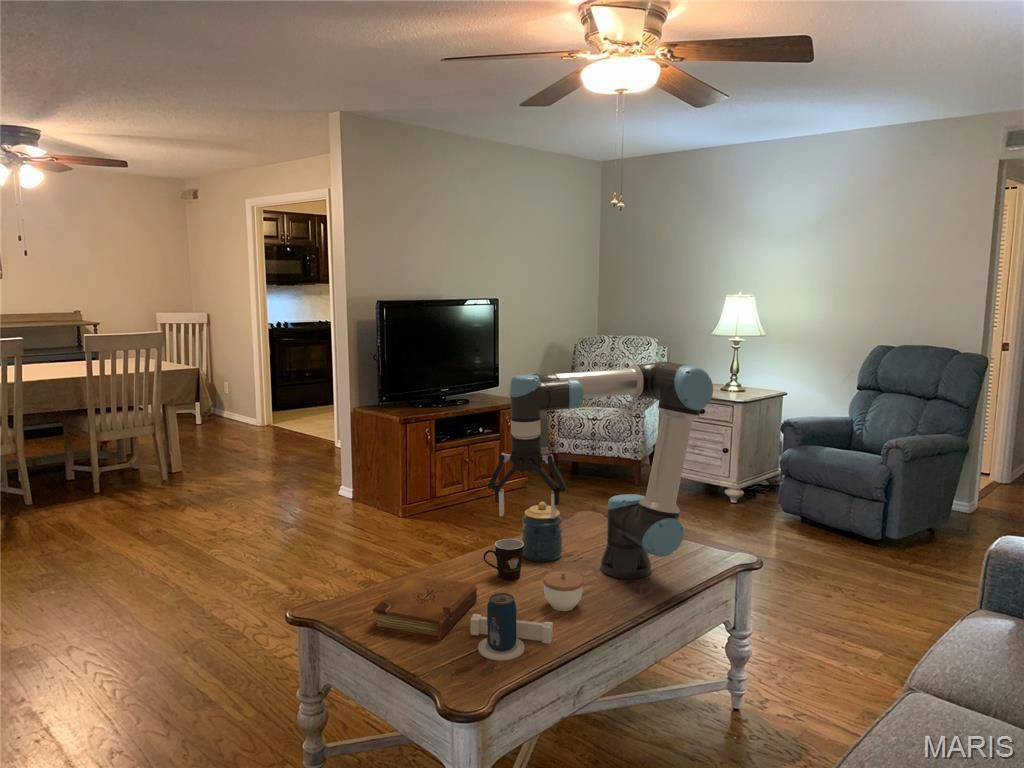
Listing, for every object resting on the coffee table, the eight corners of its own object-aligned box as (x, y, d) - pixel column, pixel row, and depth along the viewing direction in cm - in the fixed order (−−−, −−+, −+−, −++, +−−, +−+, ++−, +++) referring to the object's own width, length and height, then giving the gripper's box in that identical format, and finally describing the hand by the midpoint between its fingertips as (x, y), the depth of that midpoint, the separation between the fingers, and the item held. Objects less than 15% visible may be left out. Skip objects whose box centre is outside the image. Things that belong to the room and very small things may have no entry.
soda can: (515, 638, 174) (516, 591, 173) (516, 653, 167) (517, 604, 166) (487, 639, 174) (487, 592, 172) (487, 653, 167) (487, 604, 165)
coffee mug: (524, 571, 217) (525, 539, 216) (522, 582, 208) (522, 549, 207) (486, 569, 218) (486, 537, 217) (482, 581, 210) (482, 548, 208)
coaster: (528, 640, 175) (528, 637, 175) (519, 663, 164) (519, 660, 164) (484, 635, 177) (484, 632, 177) (472, 657, 167) (472, 654, 166)
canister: (515, 559, 226) (515, 505, 224) (530, 545, 238) (530, 494, 236) (554, 565, 222) (554, 510, 219) (567, 551, 233) (568, 498, 231)
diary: (440, 643, 174) (440, 621, 174) (373, 630, 181) (372, 609, 180) (476, 603, 196) (476, 583, 195) (415, 593, 202) (415, 573, 201)
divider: (552, 637, 176) (552, 622, 176) (550, 643, 173) (550, 628, 173) (473, 629, 180) (473, 614, 180) (470, 634, 177) (470, 619, 177)
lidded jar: (556, 618, 186) (556, 584, 185) (535, 602, 196) (536, 569, 194) (590, 610, 191) (591, 576, 190) (569, 594, 201) (569, 562, 199)
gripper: (576, 433, 184) (576, 512, 188) (481, 431, 189) (483, 509, 192) (573, 440, 177) (573, 522, 180) (475, 438, 182) (477, 518, 185)
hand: (527, 515), depth 186 cm, fingers open, 13 cm apart
